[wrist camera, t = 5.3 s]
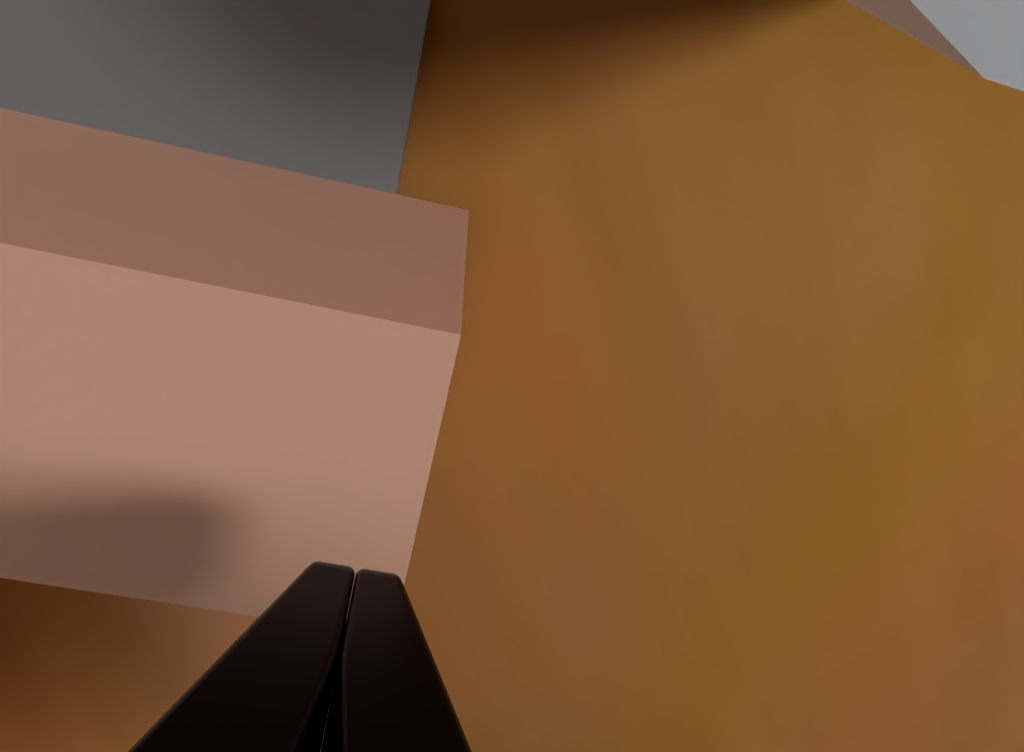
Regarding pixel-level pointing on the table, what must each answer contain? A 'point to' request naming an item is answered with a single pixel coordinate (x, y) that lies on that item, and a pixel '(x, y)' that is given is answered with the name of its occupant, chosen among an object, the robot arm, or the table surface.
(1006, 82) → the white cup
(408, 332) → the block
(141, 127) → the mat
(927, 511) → the table surface
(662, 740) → the table surface
